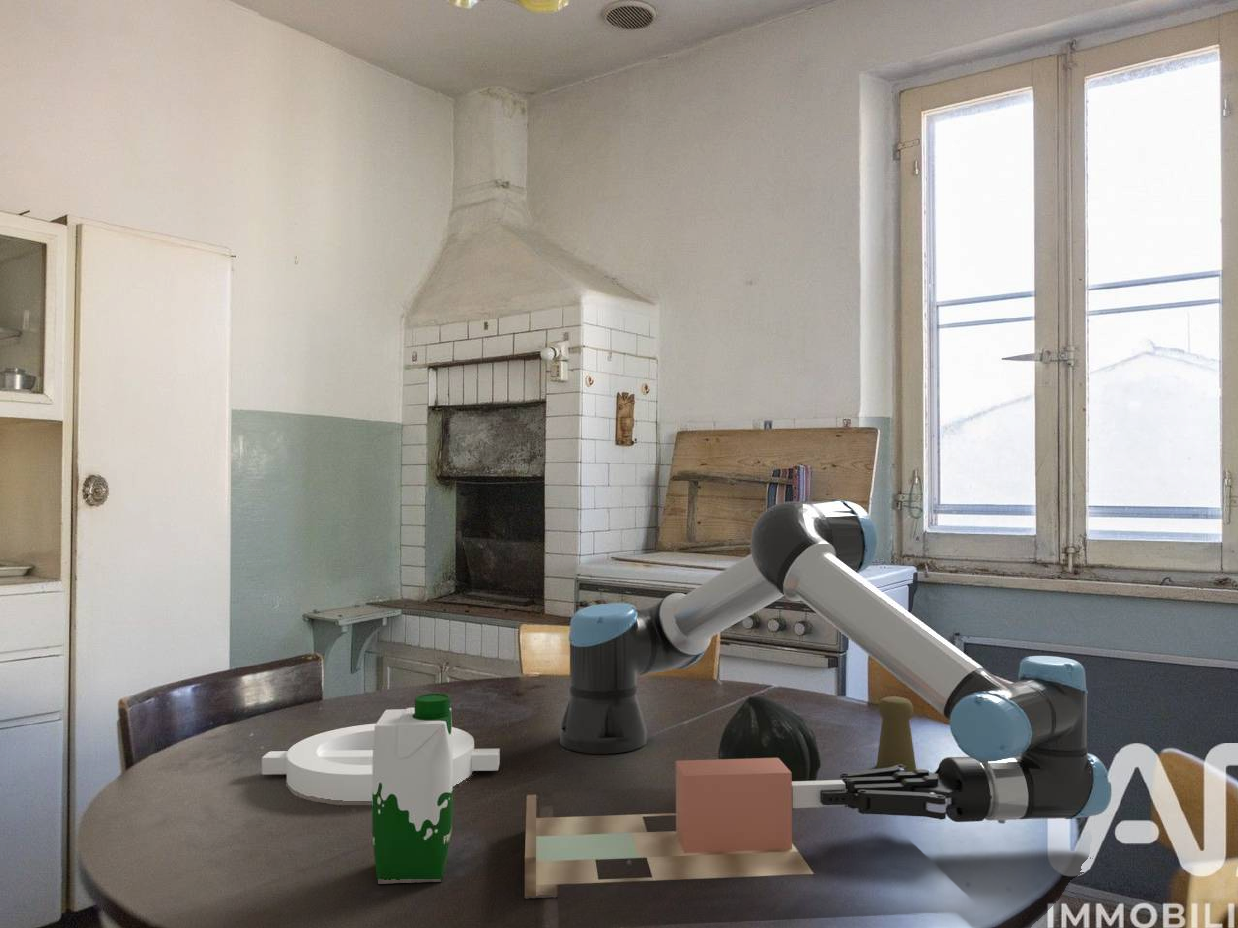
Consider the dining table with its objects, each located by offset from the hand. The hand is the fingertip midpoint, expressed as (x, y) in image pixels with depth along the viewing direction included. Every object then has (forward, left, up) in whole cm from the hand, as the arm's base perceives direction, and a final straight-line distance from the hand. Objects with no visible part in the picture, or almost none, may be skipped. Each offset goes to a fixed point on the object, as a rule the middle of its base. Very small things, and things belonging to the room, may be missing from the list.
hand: (791, 794), depth 111 cm
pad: (-20, -14, -7) cm, 26 cm away
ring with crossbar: (-66, -5, -8) cm, 66 cm away
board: (-13, -9, -7) cm, 18 cm away
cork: (+1, +41, -8) cm, 42 cm away
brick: (-6, -3, -6) cm, 9 cm away
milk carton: (-35, -28, -8) cm, 46 cm away
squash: (-11, +19, -8) cm, 24 cm away
